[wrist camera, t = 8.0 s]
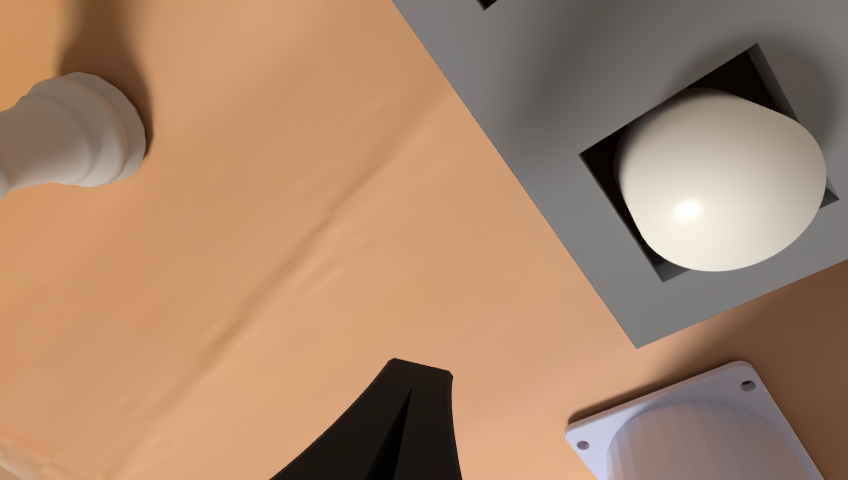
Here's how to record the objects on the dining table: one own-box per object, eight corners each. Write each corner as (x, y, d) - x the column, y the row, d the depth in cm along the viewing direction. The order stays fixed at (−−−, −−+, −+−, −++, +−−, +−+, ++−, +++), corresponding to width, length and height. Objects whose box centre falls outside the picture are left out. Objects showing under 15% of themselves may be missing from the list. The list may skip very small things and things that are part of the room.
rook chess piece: (79, 45, 19) (-191, 63, 12) (171, 126, 20) (-32, 190, 13) (42, 127, 21) (-209, 185, 14) (127, 198, 22) (-71, 289, 15)
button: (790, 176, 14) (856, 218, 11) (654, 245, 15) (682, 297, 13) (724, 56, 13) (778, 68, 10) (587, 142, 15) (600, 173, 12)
